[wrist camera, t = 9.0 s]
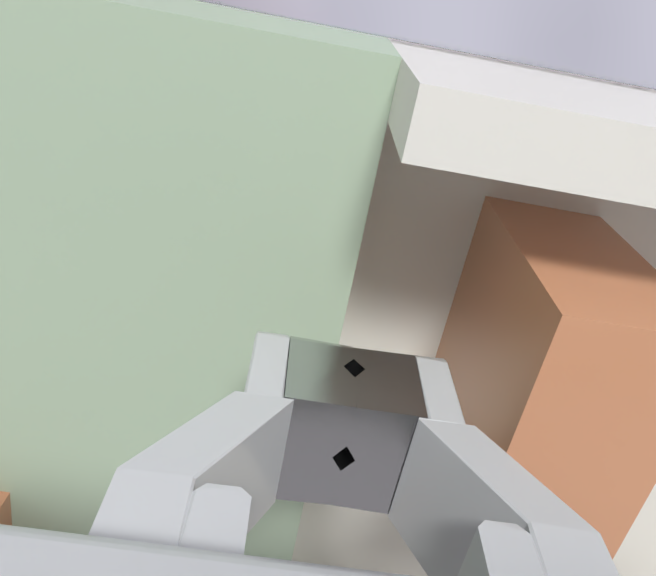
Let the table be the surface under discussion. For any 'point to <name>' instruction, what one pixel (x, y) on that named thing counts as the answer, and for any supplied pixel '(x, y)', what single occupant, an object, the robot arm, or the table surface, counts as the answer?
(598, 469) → the tile
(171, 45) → the board
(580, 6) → the table surface
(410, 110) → the tray
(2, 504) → the tile
